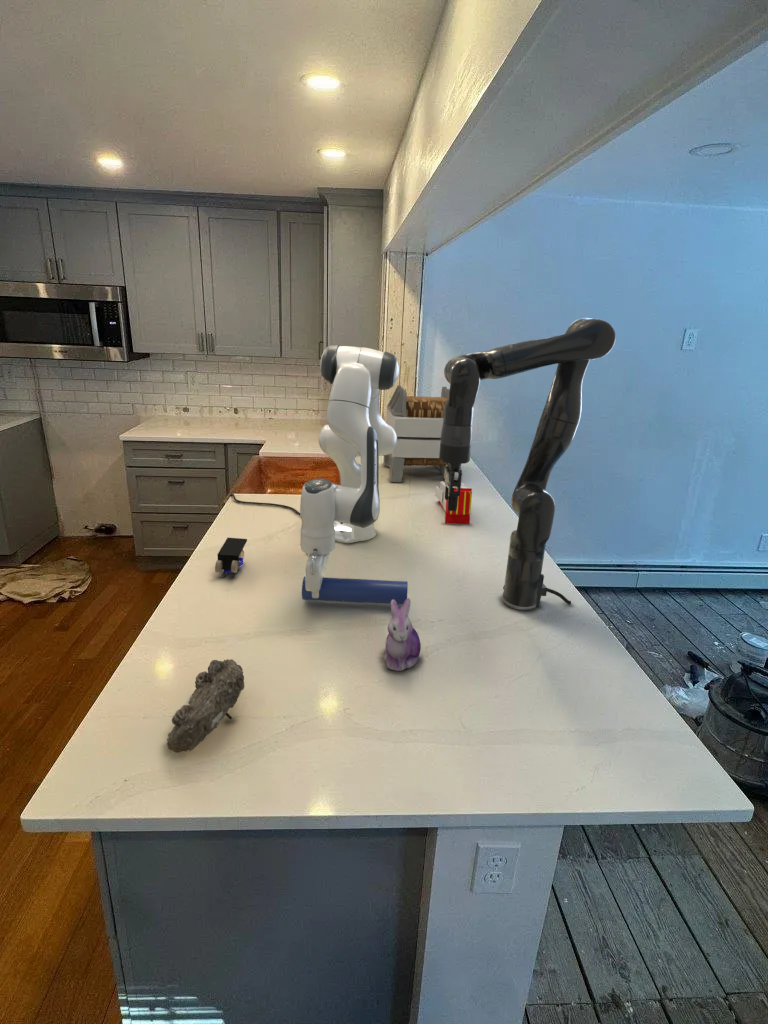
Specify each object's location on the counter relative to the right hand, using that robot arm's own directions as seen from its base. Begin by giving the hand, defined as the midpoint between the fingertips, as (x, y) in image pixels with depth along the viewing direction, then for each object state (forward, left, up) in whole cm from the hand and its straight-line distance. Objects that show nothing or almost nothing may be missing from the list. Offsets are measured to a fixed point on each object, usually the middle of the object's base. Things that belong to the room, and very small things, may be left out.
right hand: (450, 504), depth 143 cm
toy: (-22, -73, -29) cm, 81 cm away
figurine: (+15, +24, -29) cm, 41 cm away
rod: (+23, -2, -28) cm, 36 cm away
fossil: (+54, +40, -29) cm, 73 cm away
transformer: (-20, -128, -29) cm, 133 cm away
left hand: (+33, -4, -25) cm, 42 cm away
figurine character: (+58, -25, -29) cm, 69 cm away
